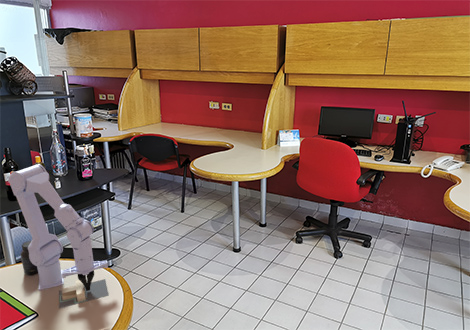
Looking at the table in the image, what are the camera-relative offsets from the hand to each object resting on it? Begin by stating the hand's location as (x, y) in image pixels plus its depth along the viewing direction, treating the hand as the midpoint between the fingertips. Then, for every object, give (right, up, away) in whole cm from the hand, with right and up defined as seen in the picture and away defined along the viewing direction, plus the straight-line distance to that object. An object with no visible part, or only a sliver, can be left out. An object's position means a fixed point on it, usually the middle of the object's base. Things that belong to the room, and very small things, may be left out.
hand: (88, 289), depth 122 cm
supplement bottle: (-26, +3, +12) cm, 28 cm away
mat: (-1, -1, 0) cm, 2 cm away
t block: (-4, -2, -2) cm, 5 cm away
